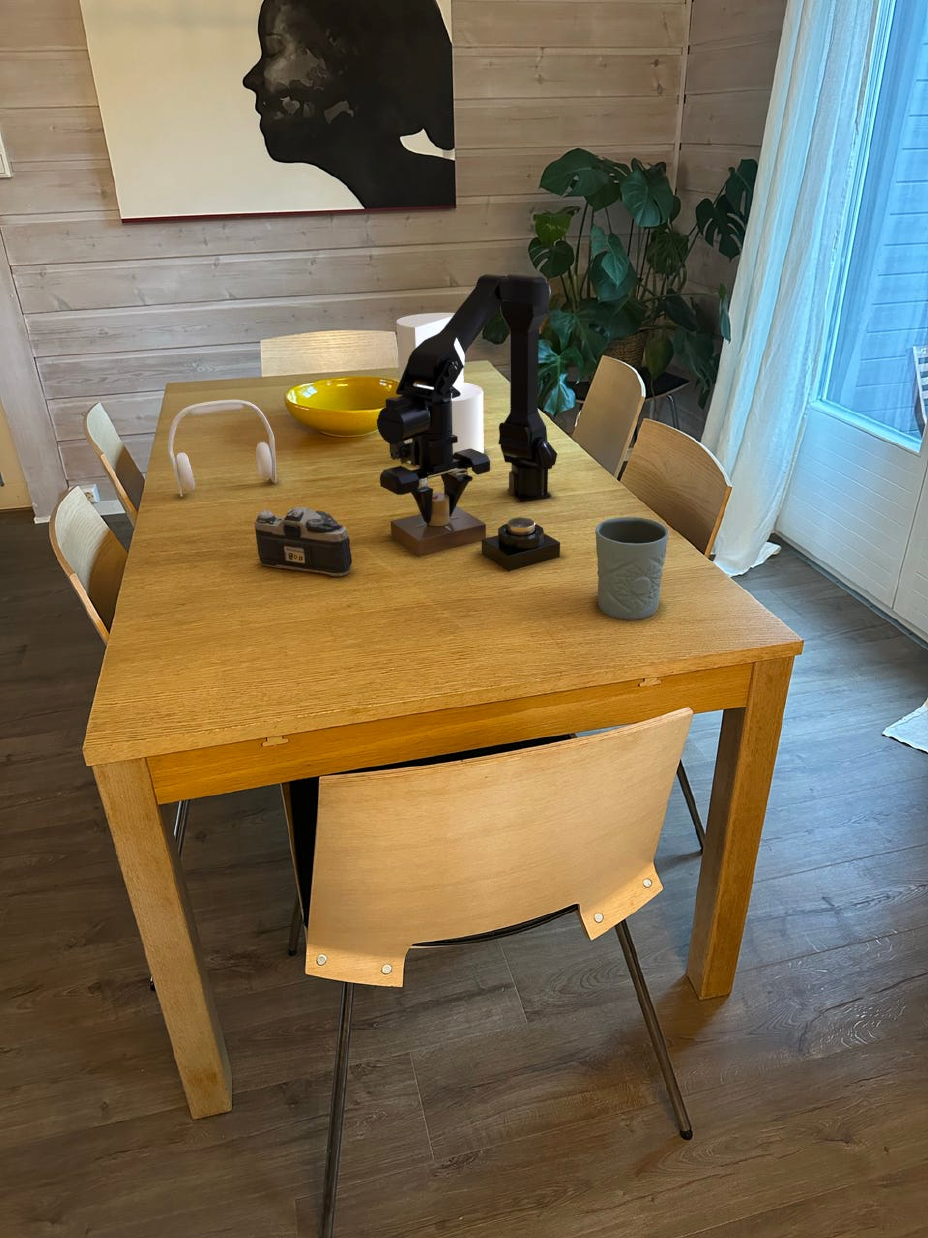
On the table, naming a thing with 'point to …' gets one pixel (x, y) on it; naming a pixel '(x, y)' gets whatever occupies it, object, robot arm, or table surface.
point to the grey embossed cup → (630, 566)
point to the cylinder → (471, 399)
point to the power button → (520, 527)
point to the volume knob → (440, 510)
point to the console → (437, 533)
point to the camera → (303, 542)
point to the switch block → (520, 548)
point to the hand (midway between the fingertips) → (437, 519)
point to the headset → (263, 453)
